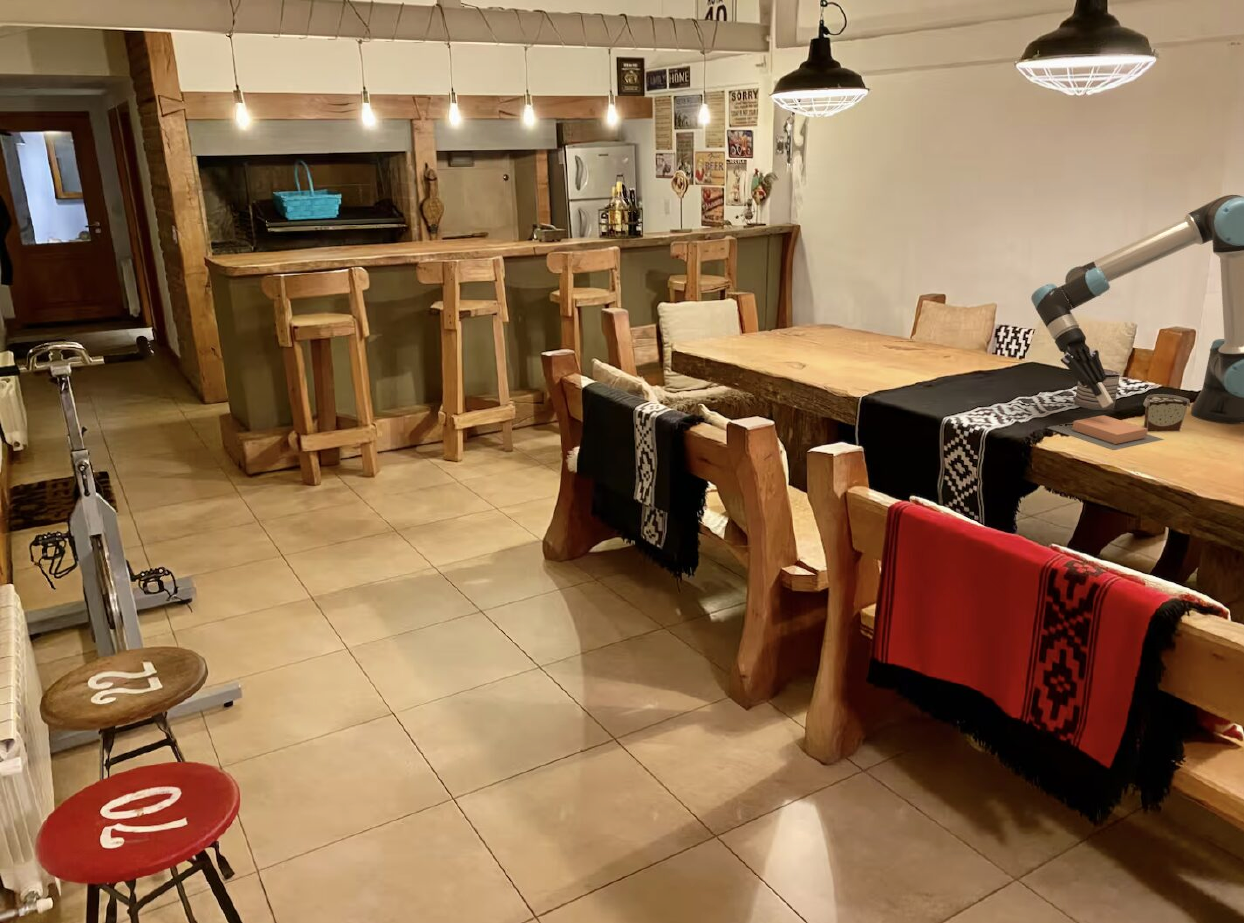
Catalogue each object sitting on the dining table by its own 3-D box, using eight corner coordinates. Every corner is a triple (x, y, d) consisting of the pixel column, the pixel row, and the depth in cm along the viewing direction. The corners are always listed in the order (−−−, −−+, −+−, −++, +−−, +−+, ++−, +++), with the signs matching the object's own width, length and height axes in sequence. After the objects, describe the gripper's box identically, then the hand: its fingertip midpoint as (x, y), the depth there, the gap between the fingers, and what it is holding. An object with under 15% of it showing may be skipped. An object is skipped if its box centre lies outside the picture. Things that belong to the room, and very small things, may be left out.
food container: (1171, 426, 268) (1178, 393, 264) (1184, 433, 262) (1191, 399, 258) (1129, 427, 267) (1135, 394, 264) (1141, 434, 262) (1147, 400, 258)
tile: (1103, 415, 266) (1147, 428, 254) (1101, 425, 267) (1145, 438, 255) (1073, 420, 261) (1117, 434, 249) (1072, 430, 262) (1115, 445, 250)
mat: (1094, 420, 274) (1095, 418, 273) (1163, 442, 255) (1164, 439, 255) (1045, 430, 266) (1045, 427, 266) (1112, 452, 247) (1113, 450, 247)
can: (1065, 404, 290) (1071, 366, 286) (1093, 400, 294) (1099, 363, 289) (1094, 414, 280) (1101, 375, 276) (1123, 410, 284) (1130, 371, 279)
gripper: (1073, 339, 272) (1114, 408, 263) (1041, 343, 267) (1081, 414, 258) (1092, 324, 265) (1134, 395, 257) (1059, 328, 260) (1101, 401, 252)
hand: (1107, 404), depth 258 cm, fingers closed
